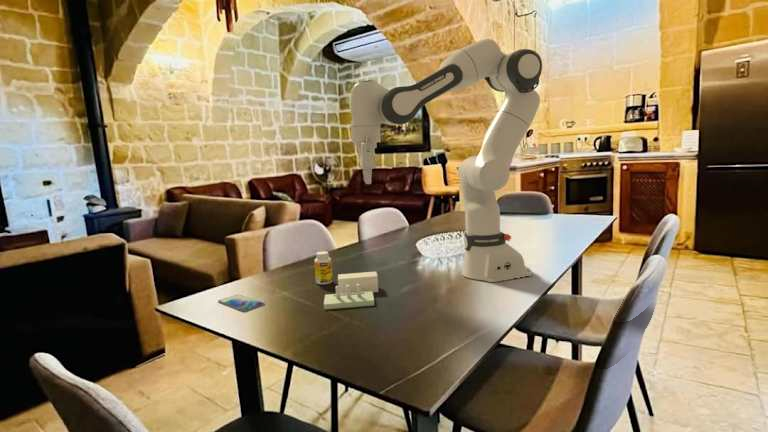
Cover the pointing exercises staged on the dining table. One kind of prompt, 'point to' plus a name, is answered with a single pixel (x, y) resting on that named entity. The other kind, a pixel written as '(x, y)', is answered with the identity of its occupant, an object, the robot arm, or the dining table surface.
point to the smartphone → (241, 303)
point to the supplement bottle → (323, 268)
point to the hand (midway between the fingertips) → (367, 182)
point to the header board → (348, 298)
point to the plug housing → (358, 281)
